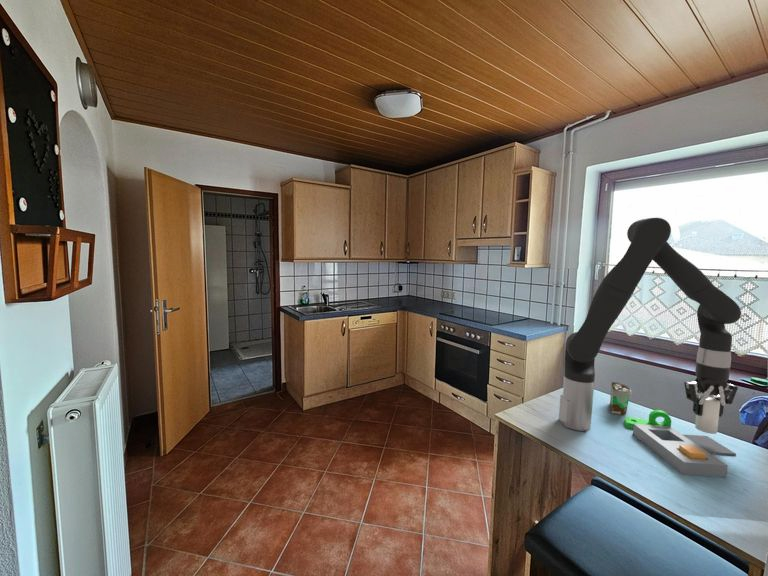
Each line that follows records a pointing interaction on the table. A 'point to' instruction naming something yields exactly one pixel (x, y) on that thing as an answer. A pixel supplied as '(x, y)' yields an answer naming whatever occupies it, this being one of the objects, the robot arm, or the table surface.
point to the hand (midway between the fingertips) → (707, 414)
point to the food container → (619, 398)
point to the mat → (709, 445)
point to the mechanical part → (652, 419)
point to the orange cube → (692, 452)
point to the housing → (667, 447)
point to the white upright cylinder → (708, 416)
